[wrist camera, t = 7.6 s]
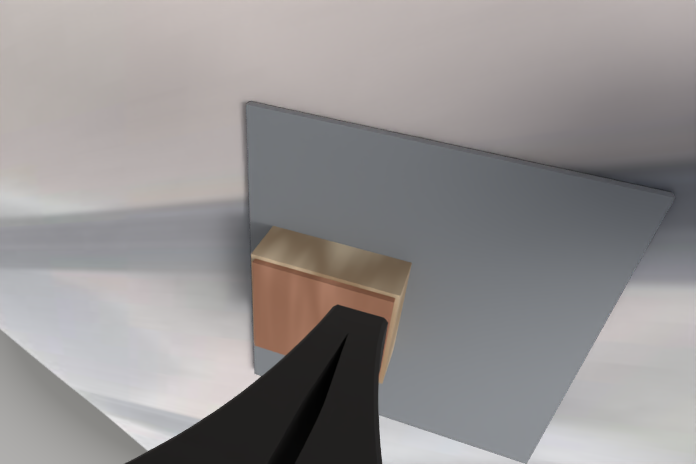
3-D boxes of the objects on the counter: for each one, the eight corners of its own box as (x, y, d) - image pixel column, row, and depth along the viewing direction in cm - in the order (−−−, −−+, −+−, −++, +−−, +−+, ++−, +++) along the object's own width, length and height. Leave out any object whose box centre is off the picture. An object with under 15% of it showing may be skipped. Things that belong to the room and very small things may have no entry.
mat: (672, 192, 18) (674, 198, 18) (526, 457, 29) (526, 463, 29) (250, 101, 22) (246, 104, 21) (257, 369, 32) (254, 373, 32)
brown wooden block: (398, 300, 21) (248, 257, 23) (380, 388, 25) (251, 346, 26) (412, 262, 23) (273, 225, 25) (393, 348, 27) (273, 312, 28)
